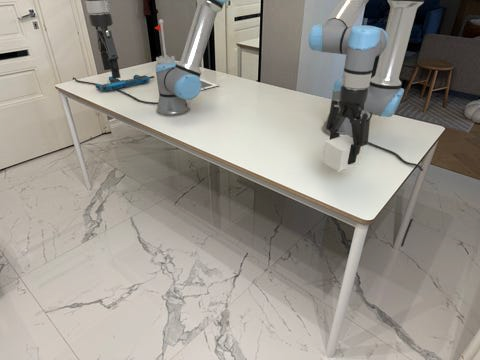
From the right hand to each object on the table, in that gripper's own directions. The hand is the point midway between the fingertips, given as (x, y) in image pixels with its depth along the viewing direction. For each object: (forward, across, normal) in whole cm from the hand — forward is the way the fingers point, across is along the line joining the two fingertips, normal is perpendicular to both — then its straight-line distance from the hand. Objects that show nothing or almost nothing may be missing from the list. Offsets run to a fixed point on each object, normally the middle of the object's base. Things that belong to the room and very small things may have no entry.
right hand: (341, 157), depth 108 cm
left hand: (-16, +76, +50) cm, 92 cm away
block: (+2, 0, 0) cm, 2 cm away
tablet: (+11, +128, -4) cm, 129 cm away
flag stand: (+11, +175, -6) cm, 176 cm away
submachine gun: (+11, +149, +31) cm, 152 cm away
